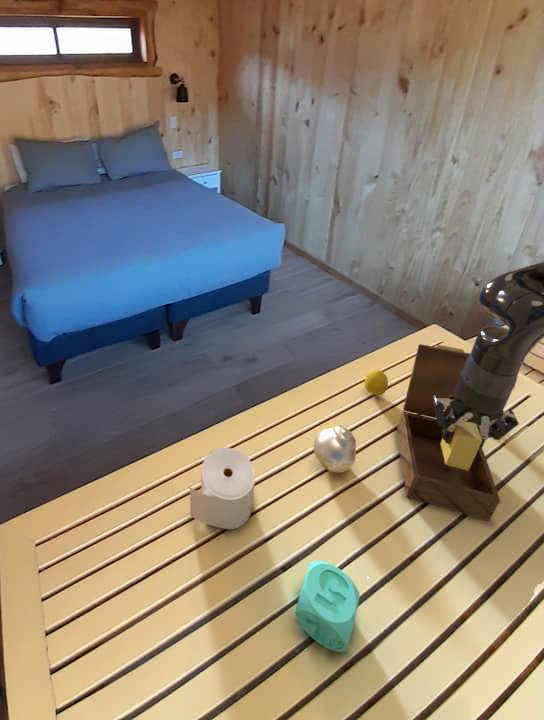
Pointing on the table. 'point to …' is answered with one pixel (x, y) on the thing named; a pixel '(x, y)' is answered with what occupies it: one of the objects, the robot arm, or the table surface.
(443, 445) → the block
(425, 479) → the chest
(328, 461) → the silver round lump
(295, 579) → the table surface
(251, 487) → the toilet tissue
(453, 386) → the lid
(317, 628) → the decorative dice
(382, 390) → the lemon
